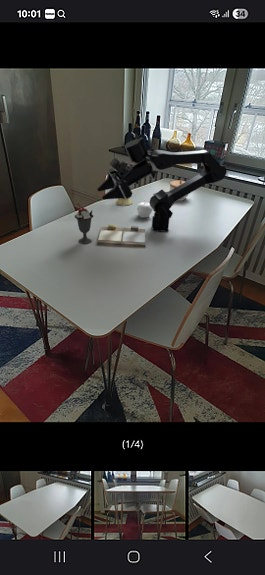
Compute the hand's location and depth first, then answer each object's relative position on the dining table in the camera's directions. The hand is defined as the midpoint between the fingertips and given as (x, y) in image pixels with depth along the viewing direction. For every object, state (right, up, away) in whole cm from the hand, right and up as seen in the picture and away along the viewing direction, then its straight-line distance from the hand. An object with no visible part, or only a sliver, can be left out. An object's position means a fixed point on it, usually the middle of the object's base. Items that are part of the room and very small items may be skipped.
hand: (100, 194), depth 118 cm
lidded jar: (+36, +12, +48) cm, 61 cm away
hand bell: (+8, +7, +39) cm, 40 cm away
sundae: (-6, -17, +3) cm, 19 cm away
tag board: (+8, -15, +7) cm, 18 cm away
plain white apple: (+17, -3, +26) cm, 31 cm away
